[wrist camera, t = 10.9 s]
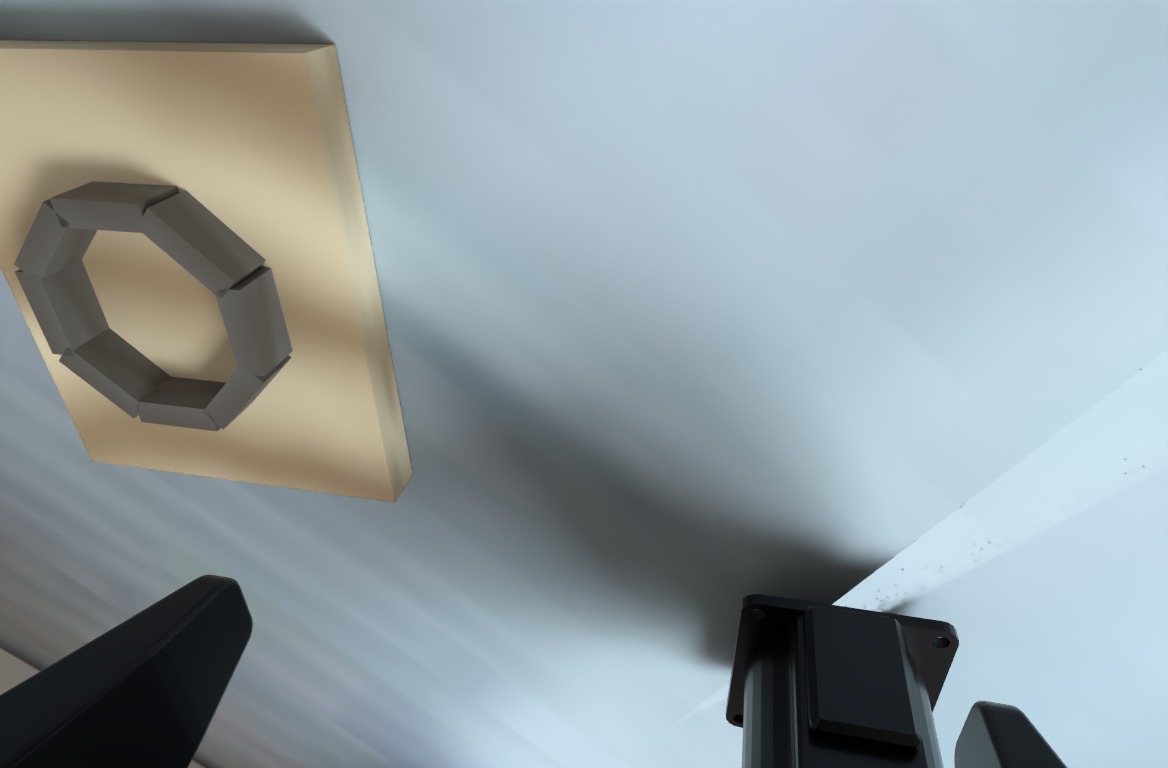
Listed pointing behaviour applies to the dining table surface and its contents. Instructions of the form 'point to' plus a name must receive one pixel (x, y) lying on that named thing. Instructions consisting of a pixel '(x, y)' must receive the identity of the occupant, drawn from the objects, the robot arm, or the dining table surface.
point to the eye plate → (260, 190)
